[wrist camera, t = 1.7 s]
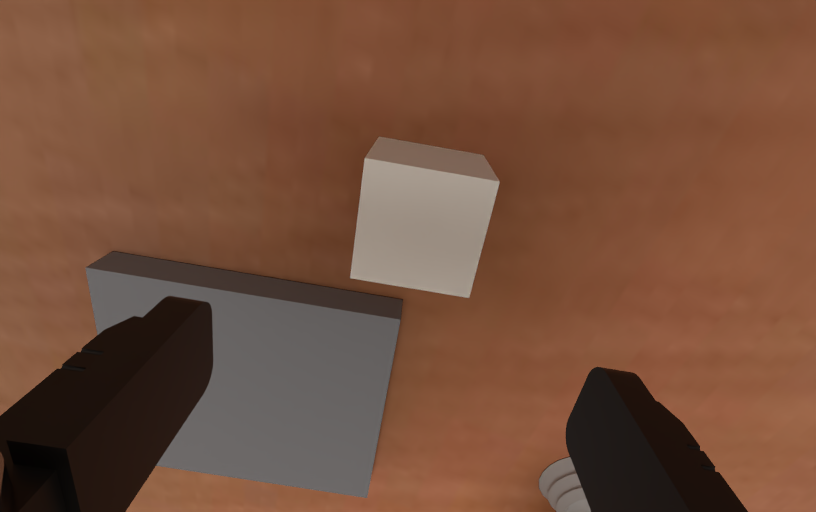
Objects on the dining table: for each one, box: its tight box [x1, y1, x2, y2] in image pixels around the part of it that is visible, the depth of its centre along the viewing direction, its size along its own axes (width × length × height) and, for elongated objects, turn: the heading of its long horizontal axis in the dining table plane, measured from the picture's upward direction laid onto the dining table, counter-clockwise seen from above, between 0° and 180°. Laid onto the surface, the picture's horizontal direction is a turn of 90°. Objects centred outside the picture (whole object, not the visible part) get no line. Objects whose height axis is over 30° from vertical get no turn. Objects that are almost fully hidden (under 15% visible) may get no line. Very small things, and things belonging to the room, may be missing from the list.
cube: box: [350, 136, 500, 298], centre depth 19 cm, size 5×5×5 cm
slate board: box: [86, 251, 403, 498], centre depth 25 cm, size 16×14×2 cm
